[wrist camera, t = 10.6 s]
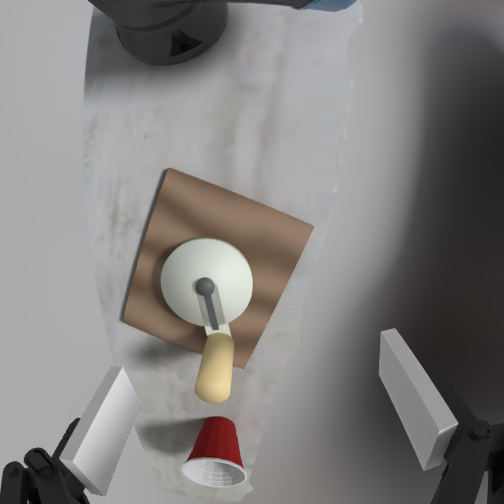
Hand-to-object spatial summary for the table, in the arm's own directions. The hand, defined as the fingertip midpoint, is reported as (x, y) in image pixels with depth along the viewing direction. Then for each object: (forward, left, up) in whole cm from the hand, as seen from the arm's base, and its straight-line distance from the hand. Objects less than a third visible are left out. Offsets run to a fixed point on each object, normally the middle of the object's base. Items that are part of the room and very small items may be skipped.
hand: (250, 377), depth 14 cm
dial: (+10, -2, -27) cm, 29 cm away
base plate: (+8, -3, -28) cm, 29 cm away
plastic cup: (+36, +8, -28) cm, 46 cm away
